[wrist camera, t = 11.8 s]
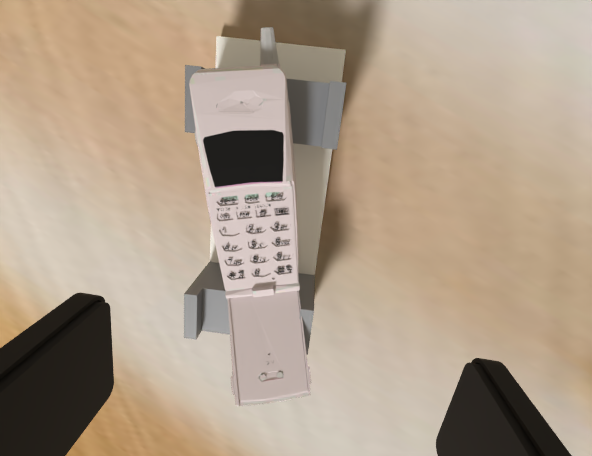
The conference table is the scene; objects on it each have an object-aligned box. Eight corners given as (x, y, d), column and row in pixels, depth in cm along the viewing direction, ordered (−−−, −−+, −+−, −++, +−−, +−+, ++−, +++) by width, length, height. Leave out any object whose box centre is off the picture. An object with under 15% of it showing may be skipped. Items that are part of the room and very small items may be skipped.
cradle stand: (220, 39, 26) (185, 9, 19) (345, 52, 26) (354, 26, 19) (210, 319, 34) (183, 368, 27) (306, 332, 34) (303, 384, 27)
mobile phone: (234, 411, 25) (154, 19, 14) (237, 351, 30) (181, 33, 19) (313, 399, 25) (297, 13, 14) (303, 342, 30) (285, 28, 20)
